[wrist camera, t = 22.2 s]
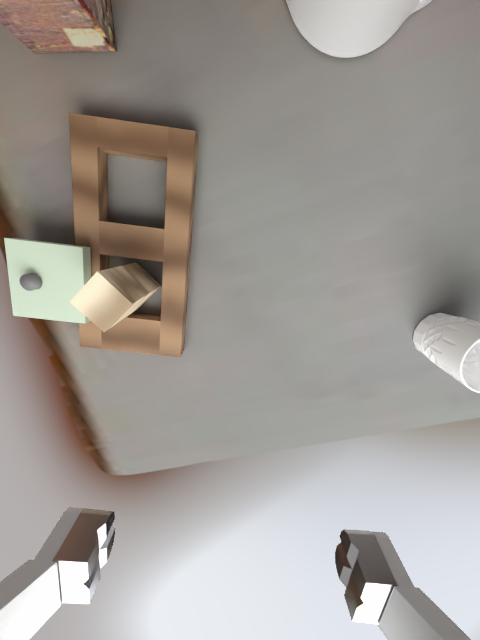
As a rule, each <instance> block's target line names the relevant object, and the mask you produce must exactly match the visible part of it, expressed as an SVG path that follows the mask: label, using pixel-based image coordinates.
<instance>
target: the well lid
mask: <svg viewBox="0 0 480 640" xmlns="http://www.w3.org/2000/svg"><path fill="white" fill-rule="evenodd" d="M4 240H5V249H6V257H7V266H8V274H9V283H10V291H11V300H12V309H13V315H14V316H21V317H30V318H39V319H48V320H57V321H66V322H75V323H84V324H86V323H87V322H89V321H91V320H89V319H88V318H87V317H86V316H85V315H84V314H82V313H81V312H80V311H79V310H78V309H77V308H76V307H74V306H73V305H72V304H71V303H70V301H71V299H72V298H73V297H74V296H75V295H76V294H77V293H78V292H79V291H80V290H81V289H82V287H83V286H84V285H85V284H86V283H87V282H88V281H89V280H90V279H91V254H90V247H85V246H77V245H69V244H61V243H53V242H45V241H37V240H28V239H20V238H4Z"/></svg>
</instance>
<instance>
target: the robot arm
mask: <svg viewBox="0 0 480 640" xmlns="http://www.w3.org/2000/svg"><path fill="white" fill-rule="evenodd" d="M431 1H432V0H286V2H287V5H288V8H289V11H290V14H291V16H292V19H293V21H294V23H295V25H296V26H297V28H298V30H299V31H300V33H301V34H302V35H303V37H304V38H305V39H306V40H307V41H308V42H309V43H310V44H311V45H312V46H314V47H315V48H316V49H318V50H320V51H321V52H323V53H325V54H328V55H331V56H335V57H341V58H350V57H357V56H361V55H364V54H367V53H369V52H371V51H373V50H375V49H377V48H378V47H380V46H381V45H382V44H384V43H385V42H386V41H387V40H388V39H389V38H390V37H391V36H392V35H393V34H394V33H395V32H396V31H397V30H398V28H399V27H400V26H401V25H402V23H403V22H404V21H405V20H406V19H407V18H408V17H409V16H410V15H411V14H412V13H414V12H416V11H417V10H419V9H421V8H423V7H424V6H426V5H427V4H429V3H430V2H431ZM114 519H115V515H114V512H112V511H104V510H93V509H85V508H73V507H69V508H68V509H67V510H66V511H65V512H64V513H63V515H62V517H61V518H60V520H59V521H58V523H57V524H56V526H55V528H54V529H53V531H52V532H51V534H50V536H49V537H48V539H47V540H46V542H45V543H44V545H43V547H42V548H41V550H40V551H39V553H38V554H37V556H36V558H35V559H34V560H28V561H27V562H26V563H24V564H23V565H22V566H20V567H19V568H18V569H17V570H15V571H14V572H13V573H11V574H10V575H9V576H7V577H6V578H5V579H3V580H2V581H1V582H0V640H29V639H30V638H31V637H32V636H33V635H34V634H35V633H36V632H37V631H38V630H39V629H40V628H41V627H42V625H43V624H44V623H45V622H46V621H47V620H48V619H49V618H50V617H51V616H52V615H53V613H54V612H55V611H56V610H57V609H58V608H59V607H60V606H61V603H74V604H90V602H91V600H92V597H93V595H94V592H95V590H96V587H97V585H98V583H99V580H100V568H101V567H102V566H103V565H104V564H105V563H106V562H107V560H108V558H109V555H110V552H111V549H112V545H113V542H114V535H115V528H114V527H113V526H112V524H113V522H114ZM340 539H341V543H340V544H339V545H338V546H337V548H336V552H335V563H336V568H337V572H338V576H339V579H340V580H341V582H342V583H343V584H344V585H345V586H346V591H345V595H344V596H345V599H346V603H347V606H348V609H349V612H350V616H351V619H352V621H354V622H364V623H374V624H379V625H378V627H379V628H380V629H381V631H382V632H383V633H384V635H385V636H386V638H387V639H388V640H471V639H470V638H469V637H468V636H467V635H466V634H465V633H464V632H463V631H462V630H461V629H460V628H459V627H458V626H457V625H456V624H455V623H454V622H453V621H452V620H451V619H450V618H449V617H447V615H446V614H445V613H444V612H443V611H442V610H440V608H439V607H438V606H436V605H435V603H434V602H433V601H431V600H430V598H429V597H427V596H426V595H425V594H424V593H423V592H422V591H421V590H420V589H419V588H415V587H414V586H413V584H412V582H411V580H410V578H409V576H408V574H407V572H406V570H405V568H404V566H403V564H402V562H401V560H400V558H399V556H398V554H397V552H396V551H395V549H394V547H393V545H392V543H391V541H390V539H389V537H388V536H387V535H386V533H383V532H370V531H359V530H343V531H342V532H341V534H340Z"/></svg>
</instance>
